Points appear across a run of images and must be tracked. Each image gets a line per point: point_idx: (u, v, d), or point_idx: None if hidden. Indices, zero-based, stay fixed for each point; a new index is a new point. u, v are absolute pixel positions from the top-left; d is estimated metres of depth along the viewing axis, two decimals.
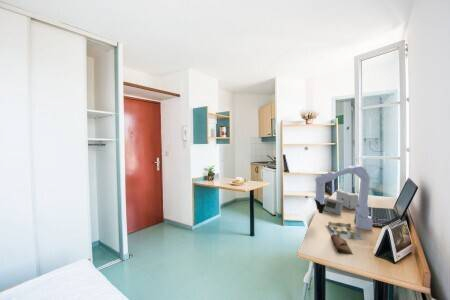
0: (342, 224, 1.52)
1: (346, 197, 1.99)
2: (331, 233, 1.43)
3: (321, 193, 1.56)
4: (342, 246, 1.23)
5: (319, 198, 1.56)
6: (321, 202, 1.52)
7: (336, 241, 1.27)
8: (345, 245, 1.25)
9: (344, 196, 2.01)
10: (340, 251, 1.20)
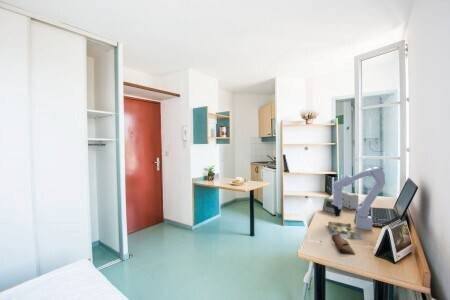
0: (342, 224, 1.52)
1: (346, 197, 1.99)
2: (331, 233, 1.43)
3: (339, 198, 1.56)
4: (344, 246, 1.22)
5: (337, 203, 1.57)
6: (339, 207, 1.52)
7: (338, 241, 1.27)
8: (347, 245, 1.24)
9: (344, 196, 2.01)
10: (342, 251, 1.20)
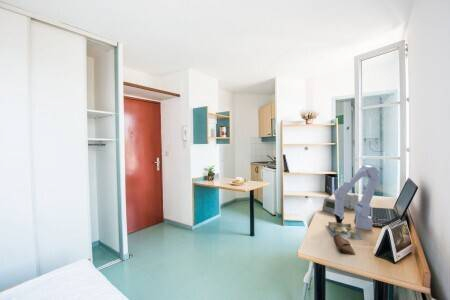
0: (342, 224, 1.52)
1: (346, 197, 1.99)
2: (331, 233, 1.43)
3: (341, 207, 1.51)
4: (344, 246, 1.22)
5: (339, 212, 1.52)
6: (341, 217, 1.47)
7: (338, 241, 1.27)
8: (347, 245, 1.24)
9: None
10: (342, 251, 1.20)
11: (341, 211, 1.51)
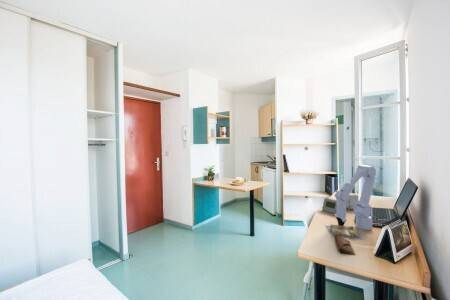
0: (344, 227, 1.47)
1: None
2: (331, 233, 1.43)
3: (343, 209, 1.47)
4: (345, 246, 1.22)
5: (341, 215, 1.47)
6: (343, 219, 1.43)
7: (339, 241, 1.27)
8: (348, 246, 1.24)
9: None
10: (342, 251, 1.20)
11: (343, 213, 1.47)
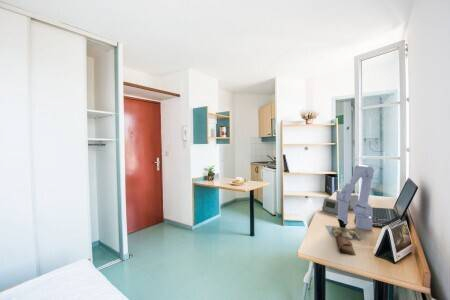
0: (346, 229, 1.44)
1: None
2: (331, 233, 1.43)
3: (344, 211, 1.43)
4: (345, 246, 1.22)
5: (342, 217, 1.44)
6: (345, 222, 1.39)
7: (339, 241, 1.27)
8: (348, 246, 1.24)
9: None
10: (342, 251, 1.20)
11: (345, 215, 1.43)
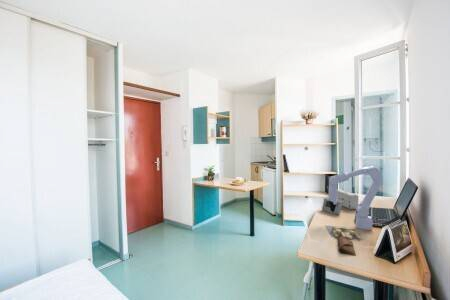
0: (346, 229, 1.44)
1: (346, 197, 1.99)
2: (331, 233, 1.43)
3: (334, 193, 1.57)
4: (345, 247, 1.22)
5: (332, 198, 1.58)
6: (334, 202, 1.54)
7: (340, 242, 1.27)
8: (349, 246, 1.24)
9: (344, 196, 2.01)
10: (342, 251, 1.20)
11: (334, 197, 1.58)
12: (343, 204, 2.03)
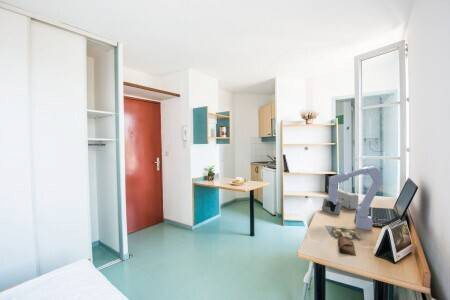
0: (346, 229, 1.44)
1: (346, 197, 1.99)
2: (331, 233, 1.43)
3: (334, 193, 1.58)
4: (345, 247, 1.22)
5: (332, 198, 1.58)
6: (334, 202, 1.54)
7: (341, 242, 1.27)
8: (349, 246, 1.23)
9: (344, 196, 2.01)
10: (342, 251, 1.20)
11: (334, 197, 1.58)
12: (343, 204, 2.03)
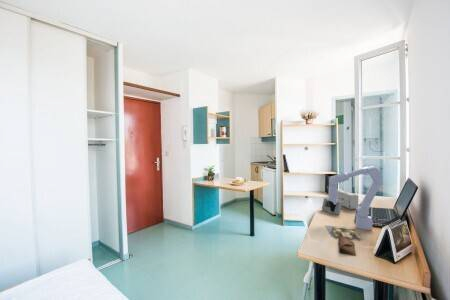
0: (346, 229, 1.44)
1: (346, 197, 1.99)
2: (331, 233, 1.43)
3: (334, 193, 1.58)
4: (346, 247, 1.22)
5: (332, 198, 1.58)
6: (334, 202, 1.54)
7: (341, 242, 1.27)
8: (350, 246, 1.23)
9: (344, 196, 2.01)
10: (342, 251, 1.20)
11: (334, 197, 1.58)
12: (343, 204, 2.03)
